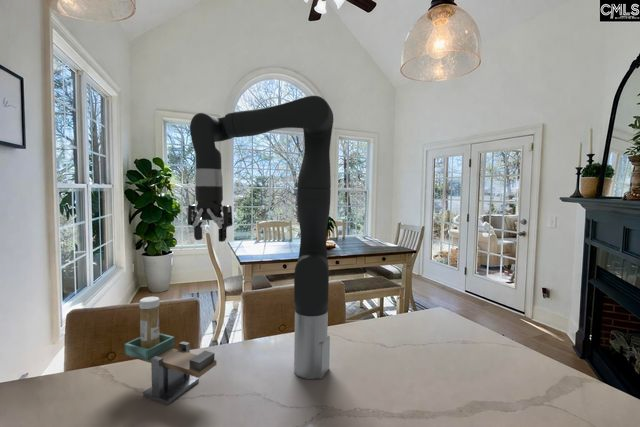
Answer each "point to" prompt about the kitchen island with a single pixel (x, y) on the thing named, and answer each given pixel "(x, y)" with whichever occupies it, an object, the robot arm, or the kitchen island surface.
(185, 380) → the fulcrum stand
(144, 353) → the beam
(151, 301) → the sprinkles bottle
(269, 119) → the robot arm
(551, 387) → the kitchen island surface
